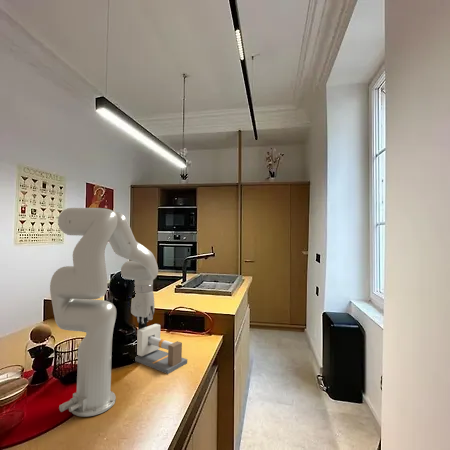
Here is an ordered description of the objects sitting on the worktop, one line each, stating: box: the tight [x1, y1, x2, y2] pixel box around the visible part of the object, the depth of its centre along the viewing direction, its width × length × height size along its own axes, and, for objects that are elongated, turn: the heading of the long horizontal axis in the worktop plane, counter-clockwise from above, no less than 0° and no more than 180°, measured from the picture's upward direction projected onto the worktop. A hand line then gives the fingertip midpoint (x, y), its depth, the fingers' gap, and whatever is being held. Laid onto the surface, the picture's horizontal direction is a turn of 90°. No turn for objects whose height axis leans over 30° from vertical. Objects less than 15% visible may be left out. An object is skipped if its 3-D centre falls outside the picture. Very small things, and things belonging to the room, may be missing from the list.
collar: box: [136, 323, 161, 356], centre depth 122 cm, size 10×3×10 cm, turn 147°
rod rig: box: [134, 336, 188, 375], centre depth 119 cm, size 11×22×9 cm, turn 57°
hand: (142, 331), depth 124 cm, fingers closed
